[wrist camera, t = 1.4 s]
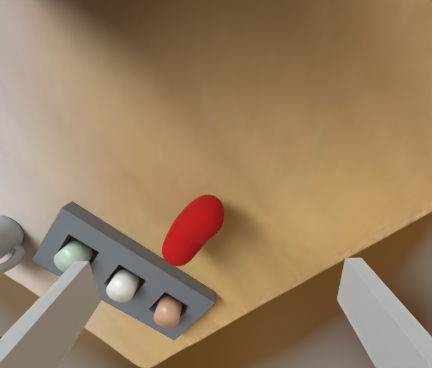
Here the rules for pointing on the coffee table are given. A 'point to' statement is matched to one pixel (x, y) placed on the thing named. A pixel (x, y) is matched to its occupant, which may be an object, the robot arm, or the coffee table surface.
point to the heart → (193, 229)
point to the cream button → (122, 286)
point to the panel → (130, 259)
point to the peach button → (168, 312)
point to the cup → (10, 243)
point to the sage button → (72, 254)
